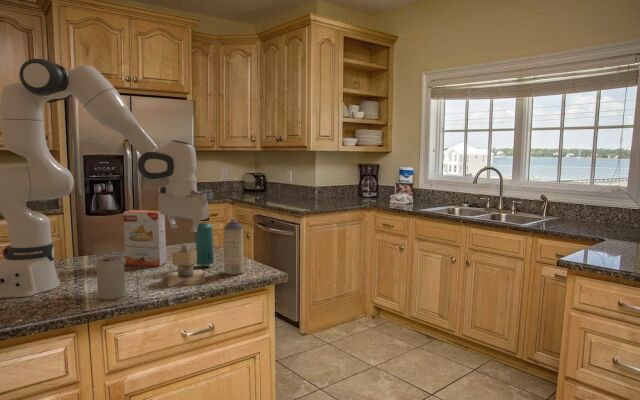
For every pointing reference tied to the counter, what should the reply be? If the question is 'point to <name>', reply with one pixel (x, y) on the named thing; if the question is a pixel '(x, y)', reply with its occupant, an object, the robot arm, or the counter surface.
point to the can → (110, 278)
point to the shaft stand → (185, 274)
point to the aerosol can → (233, 248)
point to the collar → (184, 257)
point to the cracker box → (144, 238)
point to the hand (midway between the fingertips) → (183, 230)
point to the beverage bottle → (204, 243)
